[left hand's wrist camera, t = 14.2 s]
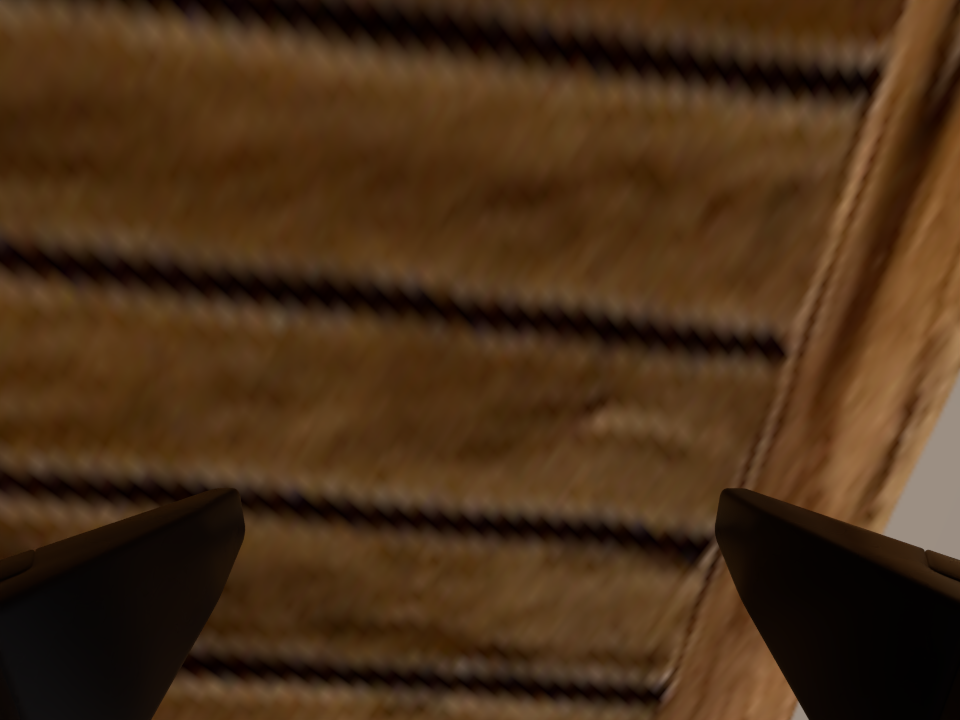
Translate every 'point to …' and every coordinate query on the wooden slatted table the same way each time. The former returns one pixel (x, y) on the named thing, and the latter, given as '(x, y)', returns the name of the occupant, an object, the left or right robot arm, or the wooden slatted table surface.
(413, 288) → the wooden slatted table surface
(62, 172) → the wooden slatted table surface
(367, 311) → the wooden slatted table surface
